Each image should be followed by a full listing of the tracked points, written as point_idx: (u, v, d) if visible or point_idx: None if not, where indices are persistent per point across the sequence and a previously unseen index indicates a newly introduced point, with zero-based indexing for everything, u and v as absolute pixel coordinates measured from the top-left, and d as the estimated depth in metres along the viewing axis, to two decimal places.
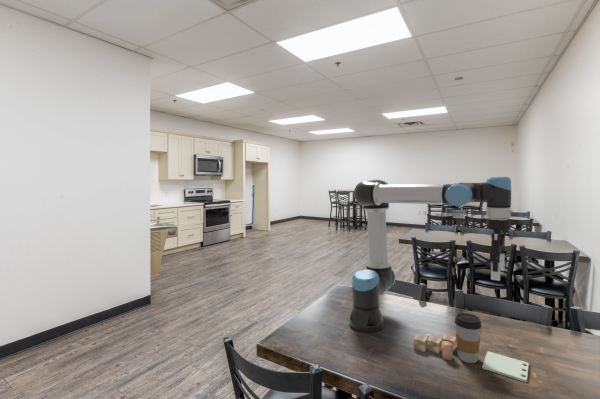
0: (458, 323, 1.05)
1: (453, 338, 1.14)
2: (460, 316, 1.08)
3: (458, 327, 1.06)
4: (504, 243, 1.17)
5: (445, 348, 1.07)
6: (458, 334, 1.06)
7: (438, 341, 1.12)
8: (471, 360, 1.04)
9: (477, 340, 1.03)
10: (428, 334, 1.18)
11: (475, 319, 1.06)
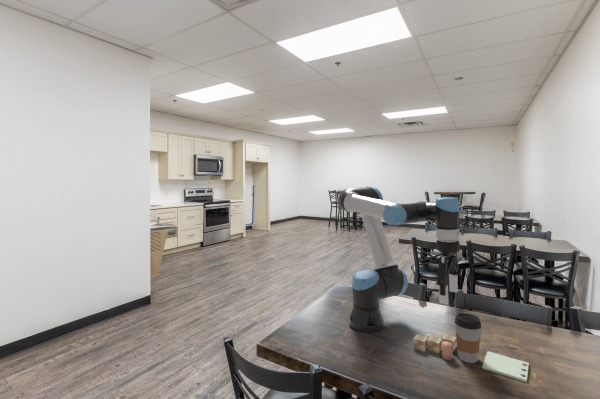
0: (458, 323, 1.05)
1: (453, 338, 1.14)
2: (460, 316, 1.08)
3: (458, 327, 1.06)
4: (457, 264, 1.15)
5: (445, 348, 1.07)
6: (458, 334, 1.06)
7: (438, 341, 1.12)
8: (471, 360, 1.04)
9: (477, 340, 1.03)
10: (428, 334, 1.18)
11: (475, 319, 1.06)
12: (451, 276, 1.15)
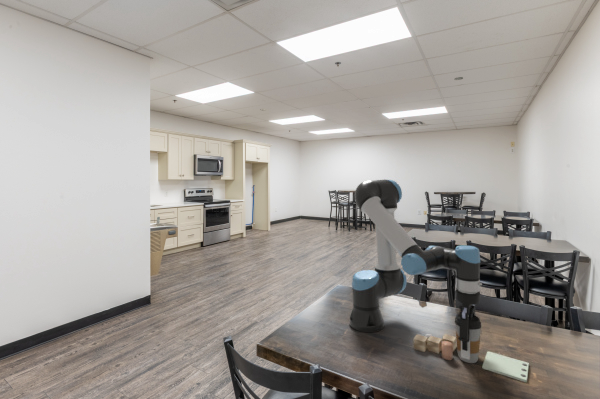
0: (458, 323, 1.05)
1: (453, 338, 1.14)
2: None
3: (458, 327, 1.06)
4: None
5: (445, 348, 1.07)
6: (458, 334, 1.06)
7: (438, 341, 1.12)
8: (471, 360, 1.04)
9: (477, 340, 1.03)
10: (428, 334, 1.18)
11: (475, 319, 1.06)
12: None
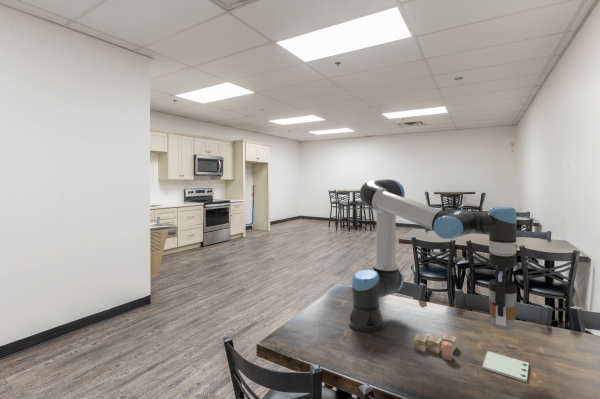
0: (493, 288, 1.00)
1: (453, 338, 1.14)
2: (494, 282, 1.02)
3: (492, 293, 1.00)
4: None
5: (445, 348, 1.07)
6: (492, 300, 1.00)
7: (438, 341, 1.12)
8: (507, 327, 0.98)
9: (513, 305, 0.98)
10: (428, 334, 1.18)
11: (510, 284, 1.00)
12: None
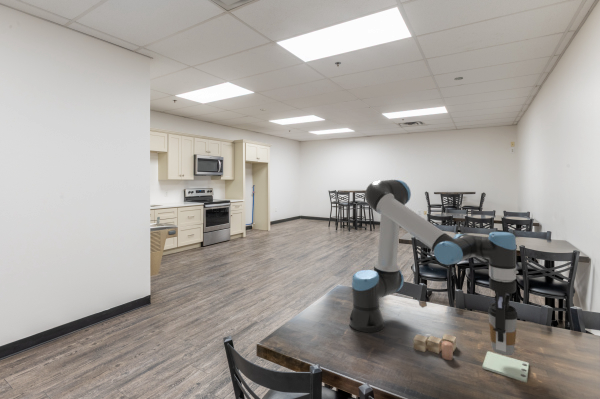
0: (493, 313, 1.00)
1: (453, 338, 1.14)
2: (494, 306, 1.03)
3: (493, 317, 1.00)
4: None
5: (445, 348, 1.07)
6: (492, 325, 1.01)
7: (438, 341, 1.12)
8: (507, 352, 0.99)
9: (513, 331, 0.98)
10: (428, 334, 1.18)
11: (510, 309, 1.00)
12: None
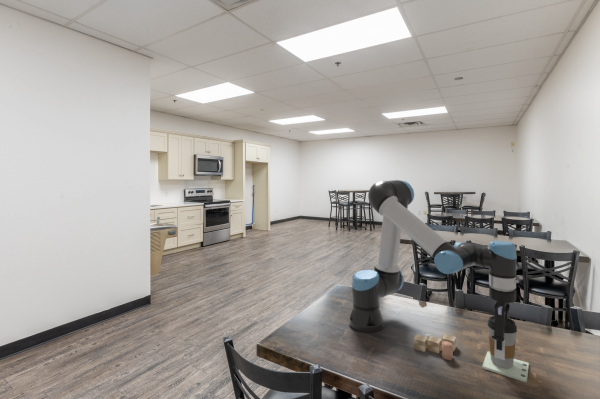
0: (492, 326, 1.01)
1: (453, 338, 1.14)
2: (493, 319, 1.03)
3: (492, 331, 1.01)
4: None
5: (445, 348, 1.07)
6: (492, 338, 1.01)
7: (438, 341, 1.12)
8: (506, 365, 0.99)
9: (513, 344, 0.99)
10: (428, 334, 1.18)
11: (510, 322, 1.01)
12: None
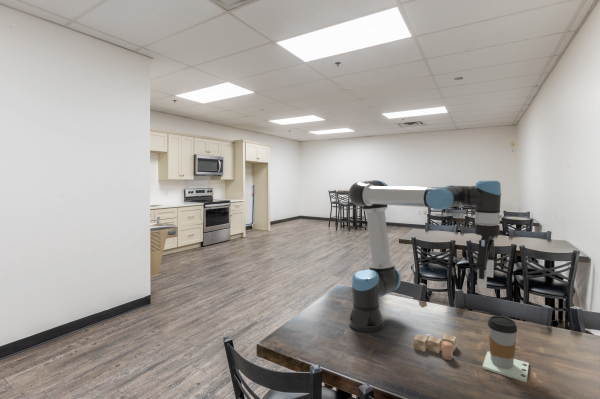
0: (492, 326, 1.01)
1: (453, 338, 1.14)
2: (493, 319, 1.03)
3: (492, 331, 1.01)
4: None
5: (445, 348, 1.07)
6: (492, 338, 1.01)
7: (438, 341, 1.12)
8: (506, 365, 0.99)
9: (513, 344, 0.99)
10: (428, 334, 1.18)
11: (510, 322, 1.01)
12: (487, 261, 1.13)
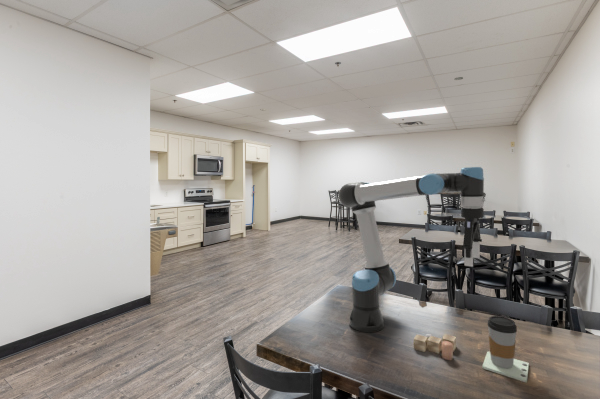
0: (492, 326, 1.01)
1: (453, 338, 1.14)
2: (493, 319, 1.03)
3: (492, 331, 1.01)
4: (479, 231, 1.21)
5: (445, 348, 1.07)
6: (492, 338, 1.01)
7: (438, 341, 1.12)
8: (506, 365, 0.99)
9: (513, 344, 0.99)
10: (428, 334, 1.18)
11: (510, 322, 1.01)
12: (473, 243, 1.22)
